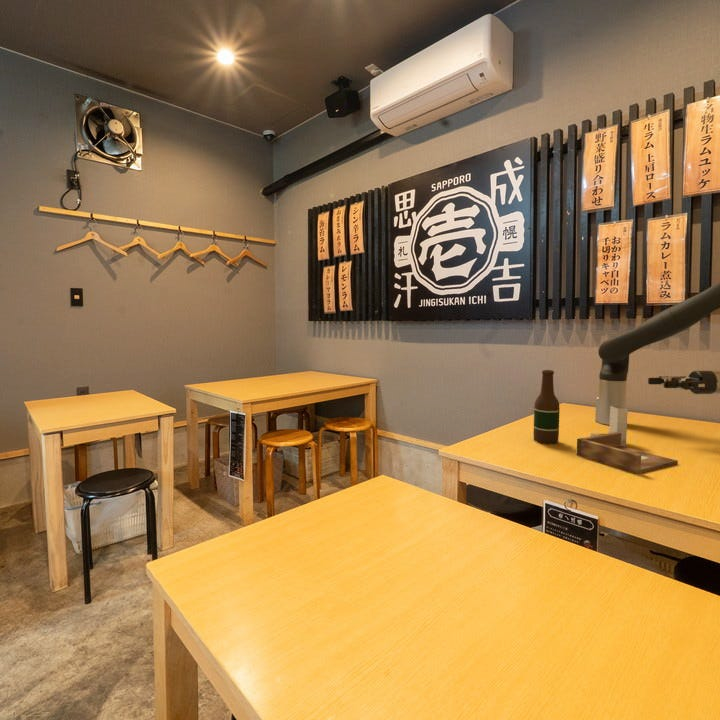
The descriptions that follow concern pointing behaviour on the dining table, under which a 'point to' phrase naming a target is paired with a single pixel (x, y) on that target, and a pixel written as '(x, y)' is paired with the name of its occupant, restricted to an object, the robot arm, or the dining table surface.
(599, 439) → the walls
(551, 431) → the beer bottle
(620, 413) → the bracket
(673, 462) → the board
